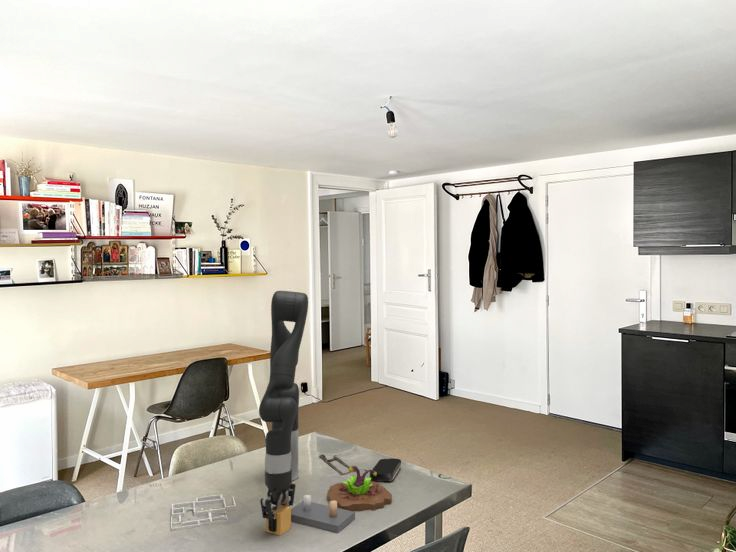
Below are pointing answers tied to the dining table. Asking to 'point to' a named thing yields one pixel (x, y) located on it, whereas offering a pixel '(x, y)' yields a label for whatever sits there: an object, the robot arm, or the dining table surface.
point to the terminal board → (321, 515)
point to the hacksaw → (333, 465)
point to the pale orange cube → (281, 520)
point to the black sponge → (386, 469)
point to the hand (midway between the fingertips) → (278, 526)
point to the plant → (359, 493)
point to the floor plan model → (201, 512)
